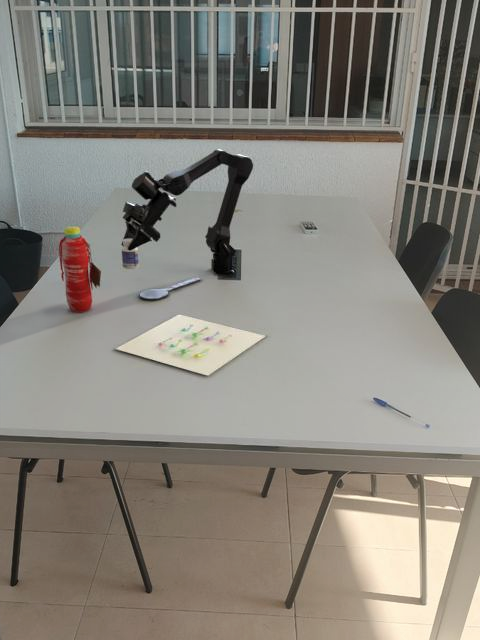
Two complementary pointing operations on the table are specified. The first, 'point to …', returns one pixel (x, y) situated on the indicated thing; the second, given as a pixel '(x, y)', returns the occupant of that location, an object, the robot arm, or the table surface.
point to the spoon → (165, 290)
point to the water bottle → (77, 270)
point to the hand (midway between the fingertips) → (125, 247)
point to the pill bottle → (129, 255)
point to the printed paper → (191, 344)
